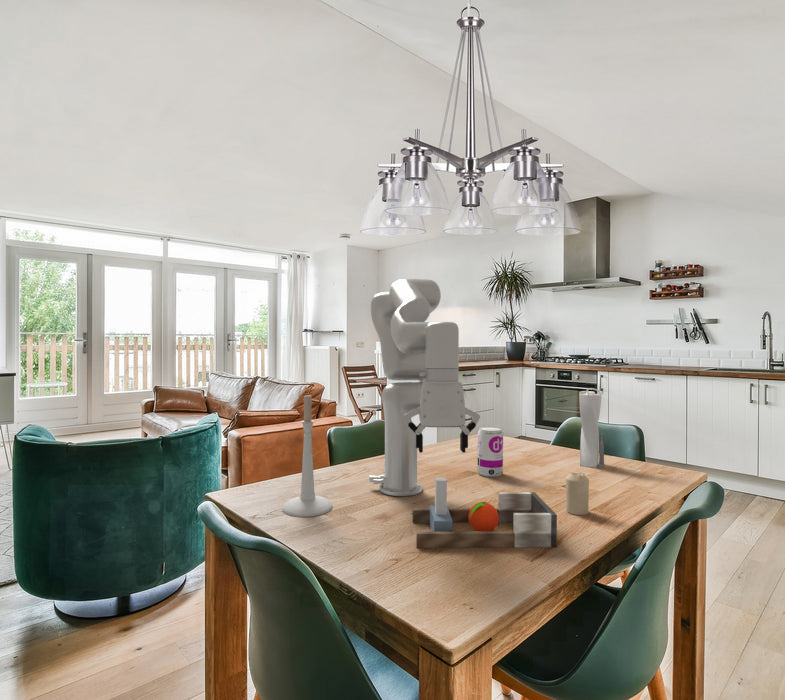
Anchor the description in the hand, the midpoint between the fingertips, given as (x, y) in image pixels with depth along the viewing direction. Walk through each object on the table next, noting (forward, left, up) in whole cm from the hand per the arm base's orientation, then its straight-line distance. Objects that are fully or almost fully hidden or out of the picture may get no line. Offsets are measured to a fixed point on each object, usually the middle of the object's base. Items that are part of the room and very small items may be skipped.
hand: (441, 451), depth 112 cm
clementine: (+9, 0, -19) cm, 21 cm away
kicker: (0, 0, -19) cm, 19 cm away
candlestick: (-33, +17, -19) cm, 42 cm away
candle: (+37, +14, -19) cm, 44 cm away
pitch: (+9, 0, -19) cm, 21 cm away
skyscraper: (+60, +60, -20) cm, 87 cm away
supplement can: (+22, +49, -19) cm, 57 cm away
